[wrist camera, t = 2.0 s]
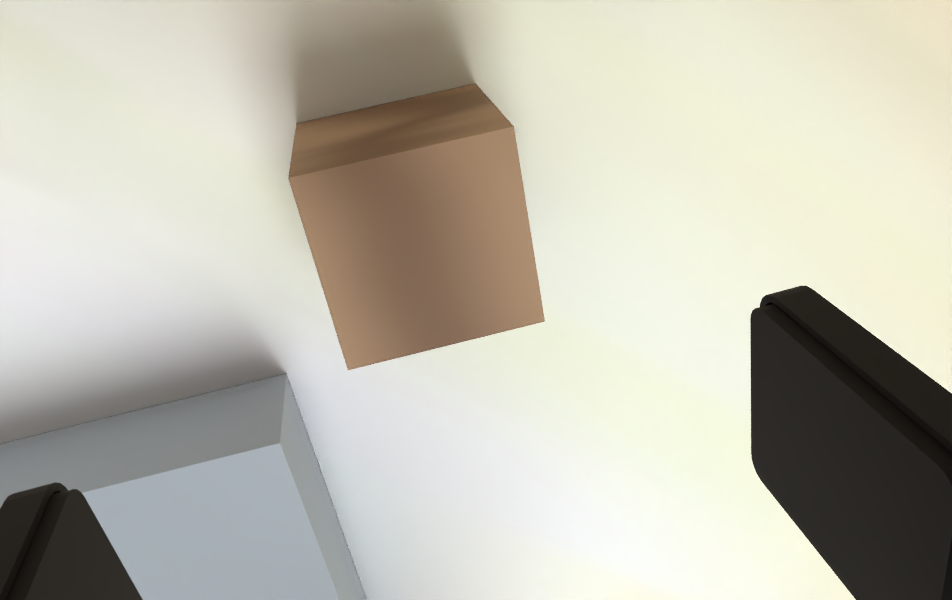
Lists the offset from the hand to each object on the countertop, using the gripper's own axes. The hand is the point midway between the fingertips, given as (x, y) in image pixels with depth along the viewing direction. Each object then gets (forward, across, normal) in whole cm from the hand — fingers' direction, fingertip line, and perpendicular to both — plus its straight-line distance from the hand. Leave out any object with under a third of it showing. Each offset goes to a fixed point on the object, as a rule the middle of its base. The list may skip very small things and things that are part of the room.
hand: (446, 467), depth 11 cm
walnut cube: (+13, -1, 0) cm, 13 cm away
